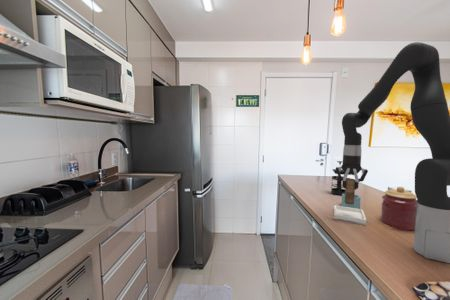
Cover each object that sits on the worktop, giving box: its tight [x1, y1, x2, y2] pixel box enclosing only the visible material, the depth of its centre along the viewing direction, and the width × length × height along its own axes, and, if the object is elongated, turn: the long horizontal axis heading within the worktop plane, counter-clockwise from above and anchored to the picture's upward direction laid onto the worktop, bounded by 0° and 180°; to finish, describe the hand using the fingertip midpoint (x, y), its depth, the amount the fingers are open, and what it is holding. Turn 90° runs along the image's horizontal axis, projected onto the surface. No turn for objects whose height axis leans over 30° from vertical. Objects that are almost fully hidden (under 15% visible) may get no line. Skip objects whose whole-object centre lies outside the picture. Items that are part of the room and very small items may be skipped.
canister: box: [380, 186, 417, 231], centre depth 92 cm, size 13×13×18 cm
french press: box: [330, 160, 351, 197], centre depth 138 cm, size 12×9×23 cm
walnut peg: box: [344, 177, 356, 204], centre depth 101 cm, size 4×4×12 cm
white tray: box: [333, 205, 368, 226], centre depth 102 cm, size 15×13×2 cm
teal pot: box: [341, 194, 361, 209], centre depth 114 cm, size 9×9×7 cm
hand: (350, 188), depth 101 cm, fingers closed on walnut peg, 4 cm apart
